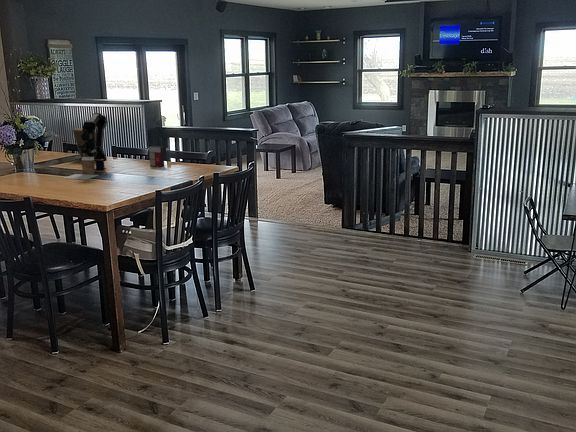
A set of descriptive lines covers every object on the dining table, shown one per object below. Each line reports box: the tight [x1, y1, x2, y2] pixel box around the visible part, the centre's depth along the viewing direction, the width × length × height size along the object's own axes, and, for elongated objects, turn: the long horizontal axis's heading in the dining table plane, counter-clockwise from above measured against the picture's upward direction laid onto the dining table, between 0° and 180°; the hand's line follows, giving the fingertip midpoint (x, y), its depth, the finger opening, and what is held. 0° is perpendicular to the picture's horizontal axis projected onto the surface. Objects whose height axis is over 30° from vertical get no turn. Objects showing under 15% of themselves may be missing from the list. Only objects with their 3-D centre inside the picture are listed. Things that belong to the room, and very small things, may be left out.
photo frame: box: [72, 127, 98, 160], centre depth 467 cm, size 15×22×25 cm
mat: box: [61, 173, 100, 181], centre depth 392 cm, size 17×18×1 cm
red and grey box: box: [148, 145, 165, 168], centre depth 434 cm, size 11×4×15 cm, turn 65°
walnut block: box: [80, 157, 96, 175], centre depth 401 cm, size 4×7×12 cm, turn 79°
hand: (92, 162), depth 406 cm, fingers closed
